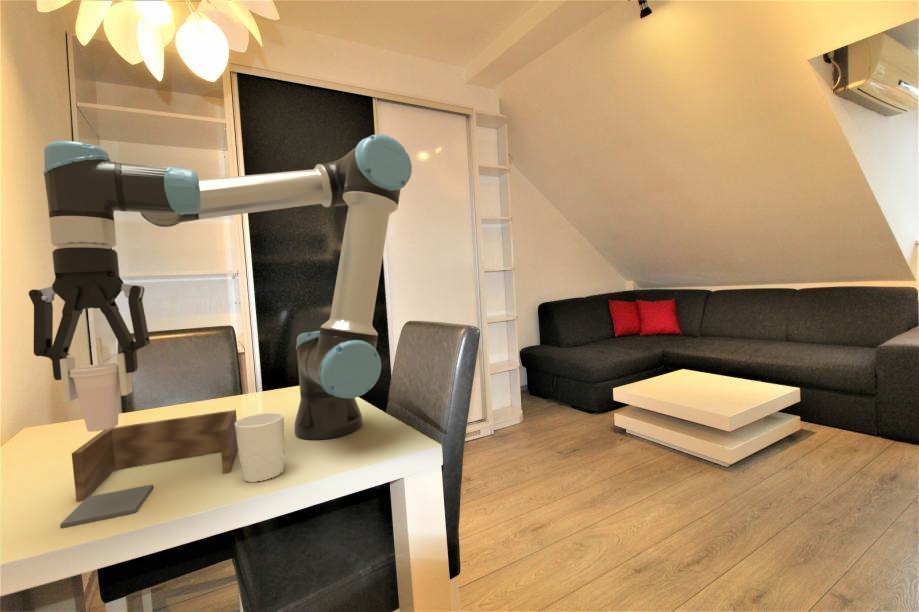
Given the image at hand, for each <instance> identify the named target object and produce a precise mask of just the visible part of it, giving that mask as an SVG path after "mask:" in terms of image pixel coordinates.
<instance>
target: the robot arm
mask: <svg viewBox="0 0 919 612" xmlns="http://www.w3.org/2000/svg"><path fill="white" fill-rule="evenodd" d="M43 150H44V151H43V157H44V158H43V160H44V171H42V173H43V177H44V182H45V191H46V199H47V208H48V218H49V232H50V243H51V245H52V246H53V247H57V248H55V249H54V250H53V251H52V252H51V253H52V262H53V271H54V278H55V279H54V281H53V283H52V285H51V286H49V287H44V288H41V289H35V288H34V289H30V290H29V291H28V296H29V298H30V301H31V303H32V304H33V355H34V356H36V357H44V358H48V359H50V360H51V364H52V375H53V378H54V380H55V381H61V386H62V388H61V389H62V397H63V398H62V399H63V403H71V402H73V401H74V400H77V399H79V398H78V395H77V391H76V388H75V384H74V380H73V377H70V370H71V369H74V368H77V367H76V360H75V359H76V357H75V356H70V354H71V352H70V348H71V345H72V341H73V339H74V336H75V332H76V329H77V327H78V322H79V320H80V316H81V315H82V314H83V312H84V310H88V309H99V310H100V312H101V313H102V314H103V315H104V317H105V319H106V320H107V323H108V325H109V327H110V328H111V329H110V330H111V331H112V333H113V334H114V336H115V338H116V340H117V342H118V344H119V346H120V347H121V349H122V350H121V351H120V353H118V354H116V356H117V363H118V370H119V380H120V397H122V396H127V395H130V394H131V393H133V392H134V390H133V381H132V380H133V379H132V373H135V372H137V371H138V367H139V365H138V355H137V353H138V350H140V349H142V348H145V347H147V346H149V345H150V344H151V341H150V340H151V339H150V335H149V330H148V325H147V324H148V323H147V319H146V314H145V308H144V303H143V298H144V294H145V287H144V286H142V285H132V284H127V283H124V281H123V280H122V278H121V276H120V266H119V255H118V251H117V250H116V249H113V247H116V246H117V237H116V236H117V234H116V223H115V216H114V214H115V213H114V212H125V213H126V212H133V213H140V215H141V217H142V218H144V220H145V221H147V222H149V223H150V224H152V225H154V226H157V227H162V228H170V227H176V225H178V224H180V223H187V222H194V221H198V220H199V221H200V220H205V219H206V220H207V219H212V218H213V219H215V218H223V217H229V216H236V215H243V214H251V213H258V212H259V213H260V212H267V211H274V210H275V211H276V210H280V209H281V210H282V209H289V208H290V209H291V208H296V207H304V206H311V205H320V204H321V205H322V206H323V207H325V208H332V207H340V206H341V207H342V206H347V207H348V208H347V213H346V219H345V220H346V221H345V226H344V232H343V237H342V245H341V250H340V256H339V262H338V267H337V268H338V270H337V273H336V274H337V275H336V281H335V286H334V291H333V292H334V293H333V299H332V305H331V309H330V310H331V311H330V316H329V319H328V320H327V321H326V322H324V323H323V324H322V325H321V326H320V330H316V331H309V332H303V333H300V334H298V336H297V337H296V346H295V350H296V356H297V366H298V367H297V368H298V369H297V370H298V379H299V380H298V381H299V382H298V383H299V395H300V401H299V405H298V409H297V413H296V418H295V421H294V434H295V436H296V437H297V438H300V439H303V440H327V439H333V438H337V437H342V436H346V435H348V434H351V433H353V432H356V431H357V430H359V429H360V428H361V427H362V426H363V415H362V412H361V409H360V407H359V405H358V402H357V400H356V398H358V397H359V398H360V397H361V396H364V395H366V393H368V392H369V391H370V390H372V388H373V387H374V386H375V385H376V383H378V380H379V378H380V375H381V371H382V362H381V361H382V360H381V357H380V355H379V353H378V351H377V343H378V336H379V333H378V331H377V330H376V329H375V328H374V326H373V320H374V313H375V308H376V301H377V295H378V289H379V281H380V276H381V270H382V264H383V257H384V250H385V245H386V237H387V232H388V225H389V218H390V216H391V214H392V213H394V212H396V211H397V210H398V208H399V202H400V197H401V190H402V189H403V188H404V187H405V186H407V184H408V183H409V181H410V179H411V176H412V172H413V168H412V167H413V166H412V161H411V158H410V155H409V153H408V152H407V151H406V149H405V147H404V146H403V145H402V144H401V143H400V142H399V141H398V140H396V139H395V138H394V137H391V136H389V135H386V134H379V133H378V134H372V135H370V136H368V137H365V138H363V139H361V140H360V141H359V142H358V143H357V144H356V146H355V147H354V148H353V149H352V150H351V151H349V152H348V153H346V155H344V156H343V157H341V158H340V159H338V160H334V161H332V162H327V163H317V164H316V165H315V166H314V168H312V169H303V170H293V171H282V172H281V171H280V172H271V173H259V174H250V175H249V174H247V175H239V176H227V177H225V176H224V177H217V178H206V179H199V175H198V174H197V172H196V171H194V170H191V169H187V168H182V167H181V168H180V167H176V166H172V165H171V166H159V165H147V164H146V165H145V164H134V163H123V162H122V163H121V162H116V161H111V158H110V157H109V153H108V152H107V150H105V149H104V148H102V147H100V146H98V145H95V144H90V143H89V144H88V143H84V142H81V141H73V140H72V141H71V140H57V141H52V142H50V143H48V144H46V146H45V147H44V149H43ZM121 292H124V296H125V298H127V303H128V308H129V315H130V319H131V324H132V329H133V335H134V338H133V336H132V334H131V332H130V330H129V327H128V326H127V324H126V322H125V320H124V318H123V316H122V315H121V312H120V309H119V306H118V304H117V303H116V299H117V298H118V296H119V295H120V294H121ZM55 295H57V296H58V297H60V299H61V300H62V301H64V304H63V307H62V311H61V314H62V315H61V319H60V321H59V324H58V328H57V331H56V334H55V337H53V335H54V334H53V330H54V328H53V327H54V324H53V323H54V321H53V320H54V315H53V314H54V307H53V302H54V301H55ZM69 352H70V353H69Z"/></svg>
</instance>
